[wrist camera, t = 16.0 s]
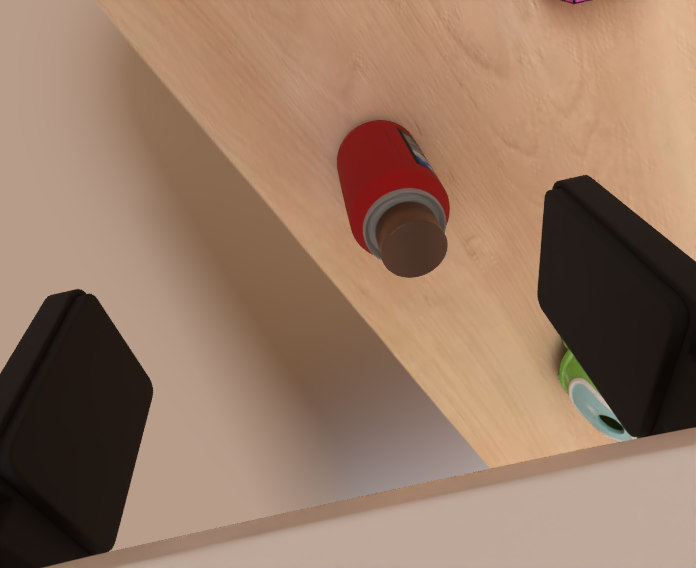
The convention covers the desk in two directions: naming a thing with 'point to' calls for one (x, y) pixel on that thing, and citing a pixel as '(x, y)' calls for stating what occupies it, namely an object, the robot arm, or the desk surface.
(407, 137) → the beverage can
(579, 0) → the puzzle toy
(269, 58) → the desk surface
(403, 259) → the dark brown cylinder
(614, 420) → the turtle holder
